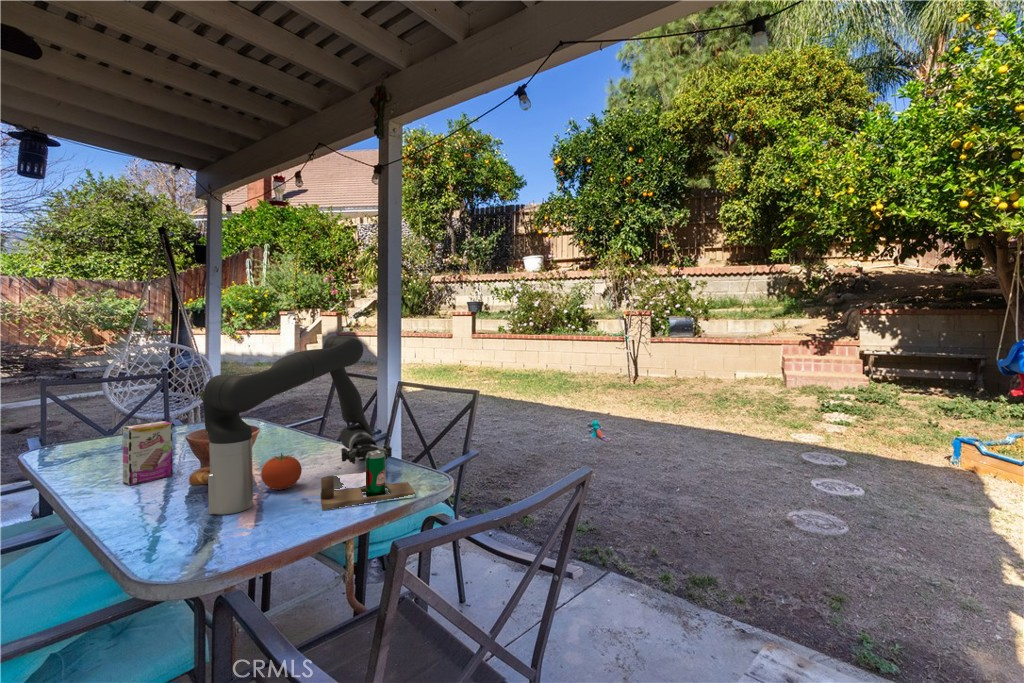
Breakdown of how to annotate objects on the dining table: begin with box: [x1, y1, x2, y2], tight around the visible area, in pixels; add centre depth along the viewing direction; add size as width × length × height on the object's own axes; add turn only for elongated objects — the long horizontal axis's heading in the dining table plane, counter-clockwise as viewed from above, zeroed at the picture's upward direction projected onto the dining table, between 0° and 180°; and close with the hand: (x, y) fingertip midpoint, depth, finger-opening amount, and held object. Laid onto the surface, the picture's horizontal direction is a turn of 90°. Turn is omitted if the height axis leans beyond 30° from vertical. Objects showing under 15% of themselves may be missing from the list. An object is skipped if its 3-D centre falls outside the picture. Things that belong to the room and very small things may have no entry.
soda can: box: [365, 450, 387, 497], centre depth 130 cm, size 5×5×12 cm
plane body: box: [319, 476, 416, 511], centre depth 130 cm, size 23×9×6 cm, turn 114°
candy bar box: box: [121, 420, 173, 486], centre depth 144 cm, size 11×5×16 cm, turn 149°
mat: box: [326, 474, 346, 489], centre depth 143 cm, size 12×13×1 cm
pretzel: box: [188, 466, 210, 486], centre depth 145 cm, size 12×11×4 cm
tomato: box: [260, 452, 303, 491], centre depth 137 cm, size 10×10×10 cm
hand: (369, 458), depth 140 cm, fingers open, 8 cm apart
